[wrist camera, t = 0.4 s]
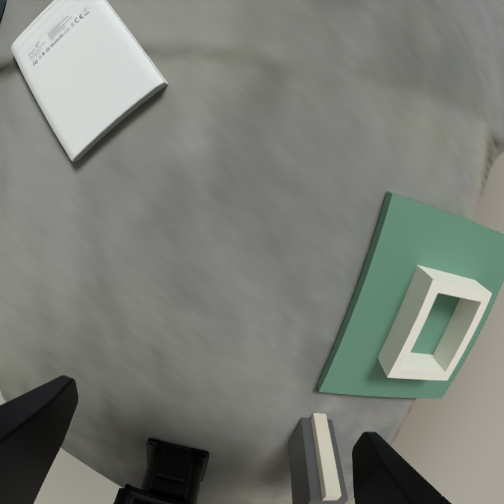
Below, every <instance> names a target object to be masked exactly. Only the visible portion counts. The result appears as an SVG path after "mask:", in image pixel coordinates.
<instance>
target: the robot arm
mask: <svg viewBox="0 0 504 504" xmlns="http://www.w3.org/2000/svg"><path fill="white" fill-rule="evenodd" d="M77 404H78V392H77V387H76V382H75V380H74V379H73V378H70V377H68V376H65V375H62V376H60V377H58V378H56V379H54V380H52V381H50V382H48V383H46V384H44V385H41V386H39V387H37V388H35V389H33V390H31V391H29V392H27V393H25V394H23V395H21V396H19V397H17V398H15V399H13V400H11V401H8V402H6V403H4V404H2V405H0V504H33V503H34V501H35V499H36V497H37V495H38V492H39V490H40V488H41V486H42V484H43V482H44V480H45V478H46V475H47V473H48V471H49V469H50V467H51V465H52V463H53V461H54V459H55V457H56V455H57V453H58V451H59V449H60V447H61V445H62V443H63V441H64V438H65V436H66V433H67V430H68V428H69V425H70V422H71V419H72V417H73V414H74V412H75V409H76V406H77ZM208 459H209V452H207V451H203V450H198V449H193V448H188V447H184V446H180V445H175V444H171V443H167V442H163V441H159V440H156V439H152V438H149V439H148V441H147V469H146V473H145V476H144V479H143V483H142V486H141V489H139V488H136V487H133V486H132V485H129V484H126V486H125V488H119V491H118V494H117V496H116V499H115V502H114V503H113V504H197V498H198V491H199V485H200V482H201V481H203V479H204V475H205V471H206V467H207V463H208ZM352 462H353V489H354V498H355V504H451V503H450V502H449V501H448V500H447V499H446V498H445V497H444V496H442V495H441V494H440V493H439V492H438V491H437V490H436V489H435V488H434V487H433V486H432V485H431V484H429V483H428V482H427V481H426V480H425V479H424V478H423V477H422V476H421V475H420V474H419V473H418V472H417V471H416V470H415V469H414V468H413V467H412V466H410V465H409V464H408V463H407V462H406V461H405V460H404V459H403V458H402V457H401V456H400V455H399V454H398V453H397V452H396V451H395V450H394V449H393V448H392V447H391V446H390V445H389V444H388V443H387V442H386V441H385V440H384V439H383V438H382V437H381V436H380V435H379V434H378V433H376V432H364V433H362V435H361V436H360V438H359V439H358V441H357V442H356V444H355V445H354V447H353V450H352Z"/></svg>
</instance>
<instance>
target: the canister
mask: <svg viewBox="0 0 504 504" xmlns="http://www.w3.org/2000/svg"><path fill="white" fill-rule="evenodd" d="M5 2H6V0H0V19H1V16H2V13H3V10H4V6H5Z"/></svg>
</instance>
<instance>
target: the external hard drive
mask: <svg viewBox="0 0 504 504" xmlns="http://www.w3.org/2000/svg"><path fill="white" fill-rule="evenodd" d="M11 51H12V53H13V55H14V57H15V59H16V61H17V63H18V65H19V67H20V70H21V72H22V74H23V76H24V78H25V80H26V82H27V84H28V86H29V87H30V89H31V91H32V93H33V95H34V97H35V99H36V101H37V103H38V104H39V106H40V108H41V110H42V112H43V113H44V115H45V117H46V119H47V121H48V122H49V124H50V126H51V128H52V129H53V131H54V133H55V134H56V136H57V138H58V139H59V141H60V143H61V144H62V146H63V148H64V149H65V151H66V153H67V154H68V156H69V158H70V159H71V161H72V162H74V161H79V160H80V159H81V158H82V157H83V156H84V155H85V154H86V153H87V152H88V151H89V150H90V149H91V148H92V147H93V146H94V145H95V144H96V143H98V142H99V141H100V140H101V139H102V138H103V137H104V136H105V135H106V134H107V133H109V132H110V131H111V130H112V129H113V128H114V127H115V126H117V125H118V124H119V123H120V122H121V121H122V120H124V119H125V118H126V117H127V116H128V115H130V114H131V113H132V112H133V111H134V110H136V109H137V108H138V107H139V106H141V105H142V104H143V103H144V102H146V101H147V100H148V99H150V98H151V97H152V96H153V95H155V94H156V93H157V92H159V91H160V90H161V89H163V88H164V87H165V86H167V85H168V83H167V81H166V80H165V79H164V77H163V76H162V75H161V73H160V72H159V70H158V69H157V68H156V66H155V65H154V63H153V62H152V61H151V59H150V58H149V57H148V55H147V54H146V53H145V51H144V50H143V49H142V47H141V46H140V45H139V43H138V42H137V40H136V39H135V38H134V36H133V35H132V34H131V32H130V31H129V30H128V28H127V27H126V26H125V24H124V23H123V22H122V20H121V19H120V17H119V16H118V15H117V14H116V12H115V11H114V10H113V8H112V7H111V6H110V4H109V3H108V2H107V0H54V1H53V2H52V3H51V4H50V5H49V6H48V7H47V8H46V9H45V10H44V11H43V12H42V13H41V14H40V15H39V16H38V17H37V18H36V19H35V20H34V21H33V22H32V23H31V24H30V25H29V26H28V27H27V28H26V29H25V30H24V32H23V33H22V34H21V35H20V36H19V37H18V38H17V39H16V41H15V42H14V43H13V44H12V46H11Z"/></svg>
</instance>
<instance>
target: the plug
mask: <svg viewBox="0 0 504 504" xmlns="http://www.w3.org/2000/svg"><path fill="white" fill-rule="evenodd" d="M289 456H290V470H291V485H292V501H293V504H344V503H345V502H346V501H347V500H348V497H347V492H346V487H345V482H344V477H343V472H342V467H341V462H340V457H339V452H338V447H337V442H336V438H335V433H334V428H333V424H332V420H327V417H326V414H318V413H313V415H312V417H311V419H309V418H301V419H300V421H299V423H298V425H297V427H296V429H295V431H294V433H293V435H292V437H291V439H290V441H289Z"/></svg>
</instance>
